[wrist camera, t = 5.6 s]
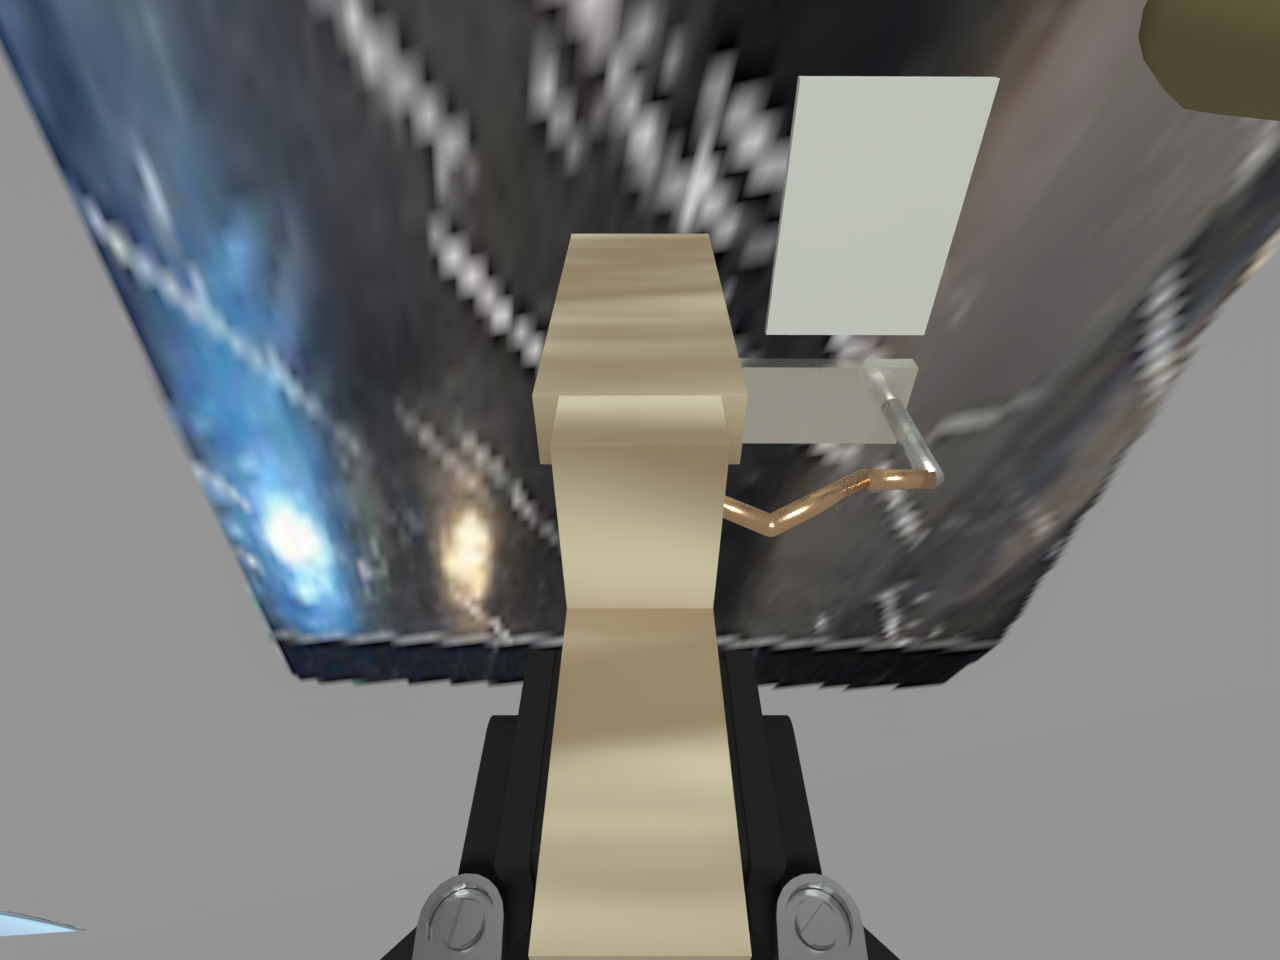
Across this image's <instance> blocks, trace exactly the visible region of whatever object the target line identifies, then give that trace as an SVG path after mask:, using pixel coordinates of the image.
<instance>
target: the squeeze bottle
mask: <svg viewBox="0 0 1280 960" xmlns="http://www.w3.org/2000/svg"><path fill="white" fill-rule="evenodd" d="M1138 38H1139V42H1140V47H1141V51H1142V55H1143V59H1144V61H1145V62H1146V64H1147V65H1148V67H1149V68H1150V70H1151V71H1152V73H1153V74H1154V76H1155V77H1156V79H1157V80H1158V82H1159V83H1160V85H1161V86H1162V88H1163V89H1164V90H1165V91H1166V92H1167V93H1168V94H1169V95H1170V96H1171V97H1172V98H1173V99H1174V100H1175V101H1176V102H1177V103H1178V104H1179V105H1180V106H1181V107H1182V108H1183V109H1188V110H1194V111H1200V112H1205V113H1211V114H1219V115H1228V116H1237V117H1247V118H1256V119H1265V120H1275V121H1280V0H1148V1H1147V3H1146V5H1145V7H1144V9H1143V14H1142V19H1141V25H1140V30H1139V36H1138Z"/></svg>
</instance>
